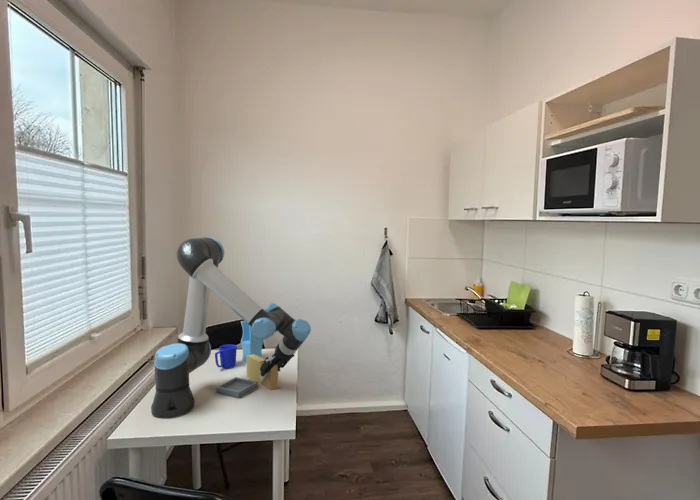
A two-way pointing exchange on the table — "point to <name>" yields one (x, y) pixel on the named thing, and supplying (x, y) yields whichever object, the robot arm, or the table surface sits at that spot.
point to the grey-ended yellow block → (254, 367)
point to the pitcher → (250, 342)
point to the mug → (226, 356)
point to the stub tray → (237, 387)
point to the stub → (271, 379)
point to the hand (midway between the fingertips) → (265, 377)
